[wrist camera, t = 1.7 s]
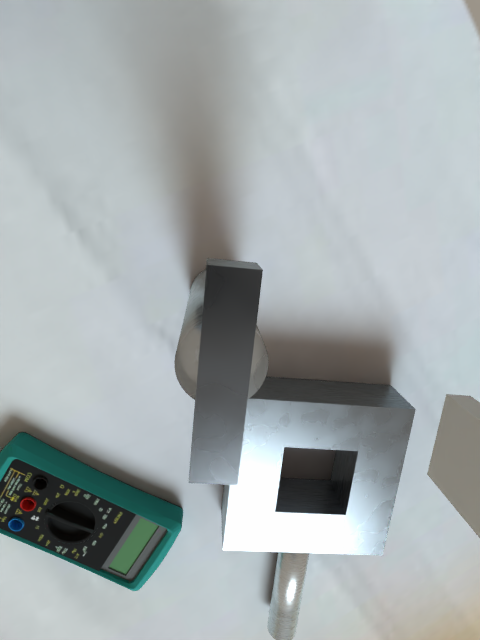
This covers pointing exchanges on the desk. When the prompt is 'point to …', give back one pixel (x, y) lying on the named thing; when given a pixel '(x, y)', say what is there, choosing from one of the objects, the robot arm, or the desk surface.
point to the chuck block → (315, 495)
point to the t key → (221, 365)
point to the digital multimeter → (83, 513)
